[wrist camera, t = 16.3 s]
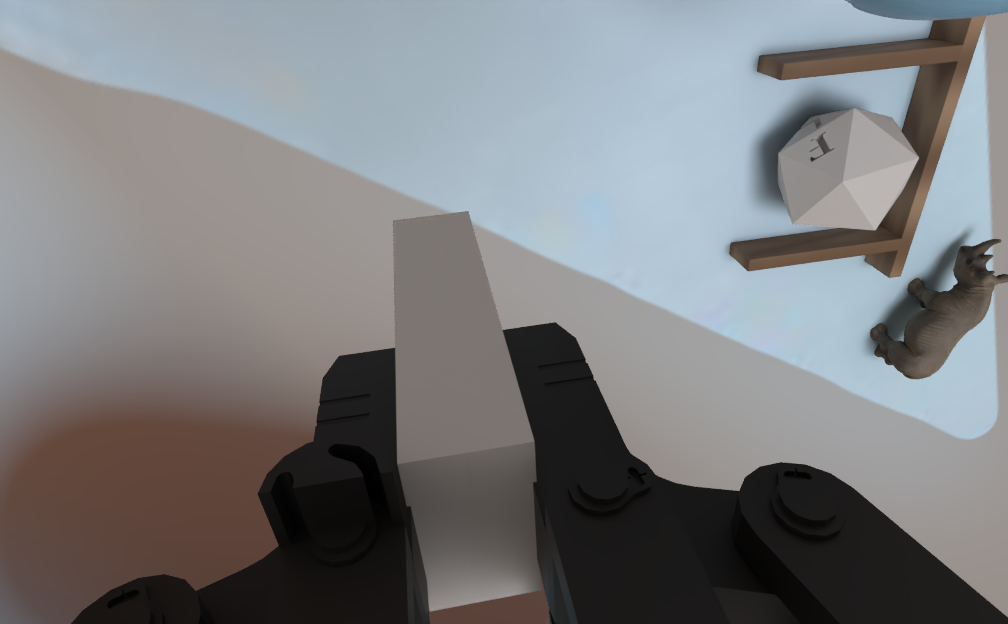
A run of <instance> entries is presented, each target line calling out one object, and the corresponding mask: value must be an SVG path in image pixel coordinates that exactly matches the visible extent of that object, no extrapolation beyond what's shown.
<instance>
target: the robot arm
mask: <svg viewBox="0 0 1008 624" xmlns="http://www.w3.org/2000/svg"><path fill="white" fill-rule="evenodd" d="M846 1H848V2H849V3H851V4H852V5H853V6H854V7H855V8H857V9H859V10H861V11H864V12H867V13H871V14H875V15H879V16H883V17H889V18H896V19H906V20H949V19H962V18H973V17H981V16H988V15H994V14H999V13H1007V12H1008V0H846ZM393 242H394V243H393V246H394V299H395V300H394V303H395V304H394V305H395V348H391V349H384V350H377V351H370V352H363V353H357V354H349V355H343V356H339V357H338V358H337V359H336V361H335V362H334V363H333V365H332V366H331V368H330V369H329V370H328V372H327V373H326V375H325V376H324V377H323V380H322V387H321V394H320V401H319V402H320V406H319V408H318V414H317V426H316V428H315V435H314V442H310V443H307V444H305V445H303V446H302V447H300V448H298V449H297V450H295V451H293V452H291V453H290V454H288V455H286V456H284V457H283V458H282V459H281V460H280V461H279V463H278V464H276V466H274V468H273V469H272V470H271V471H270V472H269V473H268V474H267V475H266V478H265V480H264V482H263V484H262V486H261V488H260V490H259V492H258V496H259V498H260V501H261V503H262V506H263V508H264V510H265V513H266V515H267V518H268V520H269V523H270V525H271V527H272V530H273V532H274V534H275V537H276V539H277V542H278V544H279V546H278V547H277V548H275V549H274V550H273V551H272V552H270V553H269V554H268V555H267V556H265V557H264V558H263V559H261V560H259V561H258V562H256V563H254V564H252V565H250V566H249V567H247V568H245V569H243V570H241V571H239V572H237V573H234V574H232V575H230V576H228V577H225V578H223V579H221V580H219V581H217V582H215V583H212V584H210V585H208V586H206V587H204V588H201V589H199V590H197V591H195V590H194V589H193V588H192V587H191V586H190V584H188V582H187V581H186V580H184V579H181V578H177V577H173V576H169V575H165V574H163V575H157V576H149V577H142V578H137V579H135V580H133V581H131V582H128V583H126V584H124V585H121V586H119V587H117V588H115V589H112V590H110V591H109V592H107V593H106V594H105V595H103V596H102V597H100V598H99V599H98V600H96V601H95V602H94V603H92V604H91V605H89V606H88V607H87V608H85V609H84V610H83V611H82V612H81V613H80V614H79V615H78V616H77V618H76V619H75V620H74V621H73V622H72V623H71V624H430V619H429V607H430V611H434V610H440V609H445V608H450V607H455V606H460V605H466V604H471V603H477V602H482V601H487V600H492V599H498V598H503V597H508V596H513V595H519V594H524V593H529V592H535V591H540V590H542V581H543V585H544V589H545V594H546V598H547V602H548V606H549V615H550V616H549V618H550V624H1008V617H1007V616H1005V615H1004V614H1003V613H1002V612H1001V611H999V610H998V609H997V608H996V607H995V606H993V605H992V604H991V603H990V602H989V601H987V600H986V599H985V598H984V597H983V596H981V595H980V594H979V593H977V591H975V590H974V589H973V588H972V587H971V586H969V585H968V584H967V583H966V582H965V581H964V580H962V579H961V578H960V577H959V576H958V575H956V574H955V573H954V572H953V571H952V570H950V569H949V568H948V567H947V566H945V565H944V564H943V563H942V562H941V561H940V560H938V559H937V558H936V557H935V556H934V555H932V554H931V553H930V552H929V551H928V550H926V549H925V548H924V547H923V546H922V545H920V544H919V543H918V542H917V541H916V540H915V539H913V538H912V537H911V536H910V535H908V534H907V533H906V532H905V531H904V530H903V529H901V528H900V527H899V526H898V525H896V524H895V523H894V522H893V521H892V520H890V519H889V518H888V517H887V516H886V515H885V514H883V513H882V512H881V511H880V510H878V509H877V508H876V507H875V506H874V505H873V504H871V503H870V502H869V501H868V500H867V499H866V498H864V497H863V496H862V495H861V494H860V493H858V492H857V491H856V490H855V489H854V488H852V487H851V486H849V485H848V484H846V483H845V482H843V481H841V480H840V479H838V478H837V477H835V476H834V475H832V474H830V473H828V472H825V471H822V470H819V469H816V468H813V467H811V466H808V465H804V464H793V463H782V462H780V463H776V464H771V465H766V466H761V467H759V468H758V469H756V470H755V471H753V472H752V473H751V474H749V475H748V476H746V477H745V479H744V481H743V484H742V486H741V488H740V491H733V490H721V489H711V488H702V487H693V486H687V485H682V484H677V483H674V482H671V481H669V480H666V479H663V478H661V477H658V476H657V475H655V474H654V472H653V471H652V470H651V469H650V467H649V466H648V465H647V464H646V463H644V462H643V461H641V460H640V459H638V458H636V457H635V456H633V455H632V454H630V452H629V450H628V449H627V447H626V445H625V443H624V441H623V439H622V437H621V435H620V433H619V430H618V428H617V426H616V424H615V422H614V420H613V417H612V415H611V413H610V411H609V409H608V407H607V404H606V402H605V400H604V398H603V396H602V394H601V392H600V389H599V387H598V385H597V383H596V381H594V379H593V374H592V372H591V370H590V368H589V366H588V364H587V363H586V361H585V357H584V355H583V353H582V351H581V348H580V347H579V344H578V342H577V340H576V338H575V337H574V336H572V335H571V334H570V333H568V332H567V331H566V330H565V329H563V328H562V327H561V326H559V325H558V324H557V323H549V324H541V325H535V326H527V327H520V328H514V329H507V330H502V327H501V323H500V320H499V317H498V313H497V309H496V306H495V303H494V299H493V296H492V292H491V289H490V285H489V282H488V278H487V275H486V271H485V268H484V264H483V261H482V257H481V254H480V250H479V247H478V244H477V240H476V237H475V233H474V230H473V226H472V223H471V219H470V216H469V212H468V211H466V212H458V213H450V214H443V215H435V216H426V217H418V218H410V219H403V220H395V221H393Z"/></svg>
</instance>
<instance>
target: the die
mask: <svg viewBox="0 0 1008 624" xmlns="http://www.w3.org/2000/svg"><path fill="white" fill-rule="evenodd" d="M918 159H919V157H918V155H917V154H916V152H915V151H914V149H913V148H912V146H911V145H910V143H909V142H908V140H907V139H906V137H905V136H904V134H903V133H902V132H901V130H900V129H899V127H898V126H897V124H896V123H895V121H894V120H893V118H892V117H888V116H884V115H880V114H876V113H872V112H868V111H864V110H860V109H857V108H852V109H847V110H842V111H837V112H832V113H827V114H822V115H817V116H812V117H810V118H809V119H808V120H807V121H806V123H805V124H804V125H803V126H802V127H801V128H800V130H798V132H797V133H796V134H795V135H794V136H793V137H792V138H791V140H790V141H789V142H788V143H787V144H786V145H785V146H784V147H783V149H782V150H781V151H780V152H779V153H778V185H779V188H780V191H781V194H782V196H783V199H784V202H785V205H786V207H787V210H788V213H789V216H790V218H791V221H792V224H799V225H811V226H824V227H837V228H850V229H862V230H876V229H877V227H878V226H879V224H880V223H881V221H882V220H883V218H884V217H885V215H886V214H887V213H888V211H889V210H890V208H891V207H892V205H893V204H894V202H895V201H896V199H897V198H898V196H899V195H900V194H901V192H902V191H903V189H904V187H905V185H906V183H907V181H908V179H909V177H910V175H911V173H912V171H913V169H914V167H915V165H916V163H917V161H918Z"/></svg>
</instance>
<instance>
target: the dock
mask: <svg viewBox="0 0 1008 624" xmlns="http://www.w3.org/2000/svg"><path fill="white" fill-rule="evenodd" d="M985 18H986V16H981V17H973V18H962V19H949V20H934V23H933V26H932V29H931V33H930V36H929V38H927V39H917V40H908V41H898V42H888V43H879V44H869V45H859V46H850V47H840V48H830V49H821V50H811V51H801V52H792V53H782V54H772V55H763V56H760V57H759V63H758V70H757V71H758V72H760V73H763V74H766V75H768V76H771V77H774V78H776V79H779V80H789V79H798V78H807V77H816V76H826V75H835V74H844V73H853V72H863V71H872V70H881V69H890V68H900V67H909V66H918V65H921V68H920V71H919V75H918V78H917V82H916V85H915V89H914V92H913V96H912V99H911V103H910V106H909V109H908V113H907V116H906V120H905V123H904V127H903V130H902V133H903V134H904V136H905V137H906V139H907V140H908V142H909V143H910V145H911V146H912V148H913V149H914V151H915V152H916V154H917V155H918V157H919V159H918V161H917V163H916V165H915V167H914V169H913V171H912V173H911V175H910V177H909V179H908V181H907V183H906V185H905V187H904V189H903V191H902V192H901V194H900V195H899V196H898V198H897V199H896V201H895V202H894V204H893V205H892V207H891V208H890V210H889V211H888V213H887V214H886V215H885V217H884V218H883V220H882V221H881V223H880V224H879V226H878V227H877V229H876V230H862V229H850V228H837V229H830V230H823V231H815V232H808V233H800V234H793V235H786V236H778V237H771V238H764V239H756V240H749V241H741V242H734V243H731V248H730V255H731V256H732V257H733V258H734V259H735V260H737V261H738V262H739V263H740V264H741V265H742V266H743V267H744V268H745V269H746V270H747V271H754V270H761V269H768V268H776V267H783V266H790V265H797V264H804V263H811V262H818V261H825V260H832V259H839V258H846V257H854V256H861V255H867V256H866V259H865V262H867V263H868V264H870V265H871V266H873V267H874V268H876V269H877V270H879V271H880V272H881V273H883V274H884V275H886V276H887V277H889V278H892V277H899V276H901V274H902V271H903V268H904V264H905V261H906V258H907V255H908V252H909V249H910V246H911V243H912V240H913V237H914V234H915V231H916V228H917V225H918V222H919V219H920V216H921V213H922V210H923V207H924V204H925V200H926V197H927V194H928V191H929V188H930V185H931V182H932V179H933V176H934V173H935V170H936V167H937V164H938V161H939V158H940V155H941V152H942V149H943V146H944V143H945V140H946V136H947V133H948V130H949V127H950V124H951V121H952V118H953V115H954V112H955V109H956V106H957V103H958V100H959V97H960V94H961V91H962V88H963V85H964V82H965V79H966V76H967V73H968V69H969V66H970V63H971V60H972V57H973V54H974V51H975V48H976V45H977V42H978V39H979V36H980V33H981V30H982V27H983V24H984V21H985Z"/></svg>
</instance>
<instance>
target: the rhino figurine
mask: <svg viewBox="0 0 1008 624" xmlns="http://www.w3.org/2000/svg"><path fill="white" fill-rule="evenodd" d="M1000 242H1001V240H1000V239H992V240H988V241H985V242H982V243H980V244H978V245H976V246H972V247H971V246H961V247H960V249H959V251H958V255H957V258H956V262H955V266H954V270H953V271H954V276H955V278H956V279H957V281H958V283H957V284H956V285H954V286H953V288H952V289H951V290H950V291H943V292H938V291H930V290H927V289H925V287H924V282H923V281H921V280H920V279H919V278H916V279H914V280H913V281H911V282H910V283H909V285H908V292H909V293H910V294H912V295H916V296H917V297H918V298H919V299H920V306H921V307H922V308H925V309H924V310H922V311H920V312H919V313H917V314H916V315H915V316H914V317H913V318H912V319H911V320H910V321H909V322H908V324H907V326H906V328H905V331H904V342H902V341H896V340H895V341H894V340H892V339H891V338H890V337H889V335H888V333H887V328H886V327H885V325H884V324H878V325H877V326H876V327H874V328H873V329H872V330H871V338H872V339H873V340H875V341H879V344H880V345H879V346H878V348H877V350H876V351H875V355H876V356H877V357H882V358H884V360H885V363H886V364H887V365H894V367H895V368H896V369H897V370H898V371H900V372H901V373H903V375H904V376H906V377H907V378H910V379H922V378H926V377H929V376H931V375H932V374H934V373H935V372H936V371H938V370H939V369H940V368H941V366H942V365H943V364H944V362H945V361H946V359H947V358H948V356H949V354H950V353H951V351H952V350H953V348H954V347H955V345H956V344H957V342H958V341H959V340H960V339H961V338H962V337H963V336H964V335H965V334H966V333H967V332H968V331H969V330H971V329H973V328H974V327H975V326H976V325H978V324H979V323H980V322H981V321H982V320H983V318H984V317H985V315H986V313H987V311H988V308H989V306H990V301H991V296H992V292H993V290H994V286H995V285H997V284H999V283H1004V282H1008V275H1007V274H1002V275H998V276H996V277H995V276H994V275H993V274H994V273H995V272H994V271H988V270H987V269H986V263H987V261H989V260H990V259H991V258H992V257H993V255H984V253H985V252H986V251H987V250H988V249H989V248H990V247H991V246H992V245H994V244H996V243H1000Z"/></svg>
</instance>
